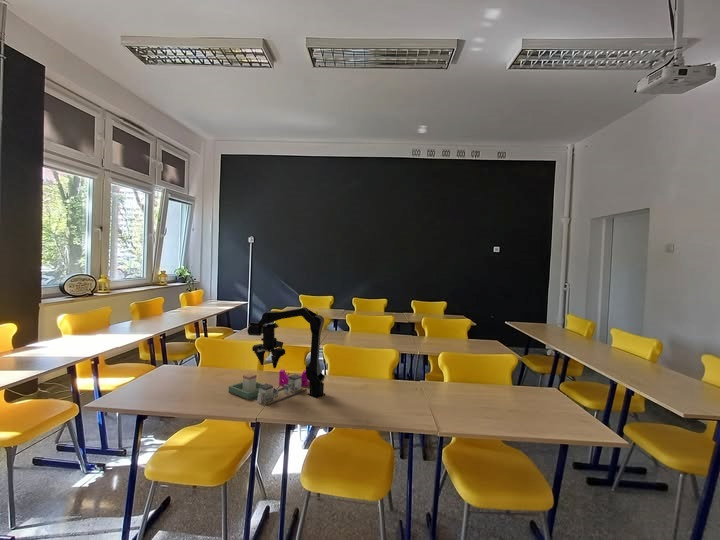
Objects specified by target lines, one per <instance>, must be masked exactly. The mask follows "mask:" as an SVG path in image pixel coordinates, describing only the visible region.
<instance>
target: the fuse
mask: <svg viewBox="0 0 720 540" xmlns="http://www.w3.org/2000/svg"><path fill="white" fill-rule="evenodd" d="M242 382H243V391H246V392H248V393H249V392H252V391H255V390H256V382H257V374H254V373H252V372H251V373H246V374H243V375H242Z"/></svg>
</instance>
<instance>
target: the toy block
mask: <svg viewBox="0 0 720 540" xmlns="http://www.w3.org/2000/svg"><path fill="white" fill-rule="evenodd" d="M305 373H306V369H305V370H302V373H301V374H300V375H299V376H301V381H302V382H301V387H303V386H304V387H308V385H309V383H310V382H309V380H308V379H307V377H306V375H305ZM278 375H279V376H278V377H279V378H278V386H279V385H280V386H284V384H285V385H288V382H289V376H290V375H288V374H287V373H286V369H283V368H282V369H280V370H279V374H278Z"/></svg>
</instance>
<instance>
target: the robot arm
mask: <svg viewBox="0 0 720 540" xmlns="http://www.w3.org/2000/svg"><path fill="white" fill-rule="evenodd" d="M296 317H302V318H303V319H304V320H305V321H306V322H307V323H309V329H310V333H311V341H310V342H311V343H310V344H311V345H310V357H309V363H307V365H305V370H306V373H305V375H306V377H307V379H308V380H309V382H308V383H309V393H307V395H308V396H309V397H312V398H316V399H319V398H321V397H324V396H325V395H326V393H324V387H325V385H324V381H325V378H326V376H325V375H324V374H323V373H322V371H321V370H322V369H321V364H320V348H321V347H320V346H321V333H322V331H323V328H324V324H325V318H324V317H323V315H320V314H318V313H315V312H314V311H312V310H311V309H309V308H308V307H306V306H303V307H300V308H294V309H288V310H283V311H282V310H281V311H280V310H269V311H267V312H263V314H262V316H261V318H260V320H259V321H258V322H257V321H251V322H249V325H248V328H247V335H248V336H257V337H259V336H261V335H262V338H260V340H261V341H262V343H257V344H254V345H253V346H252V348H251V349H252V352H253V353H254V354H255V356H256V357H257V360H258V361H259V363H260V365H261V366H264V362H265V353H266V352H268V353H270V354H271V356H270V357H271V362H272V368H273V369H276V368H277V365H278V362H279V361H280V358H281V357H283V356H284V355H286V349H285V348H283V347H284V342H283V341H279V340H278V339H277V337H275V333H276V332H275V329H278V328H279V324H277V321H280V320H284V319H292V318H296Z"/></svg>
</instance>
